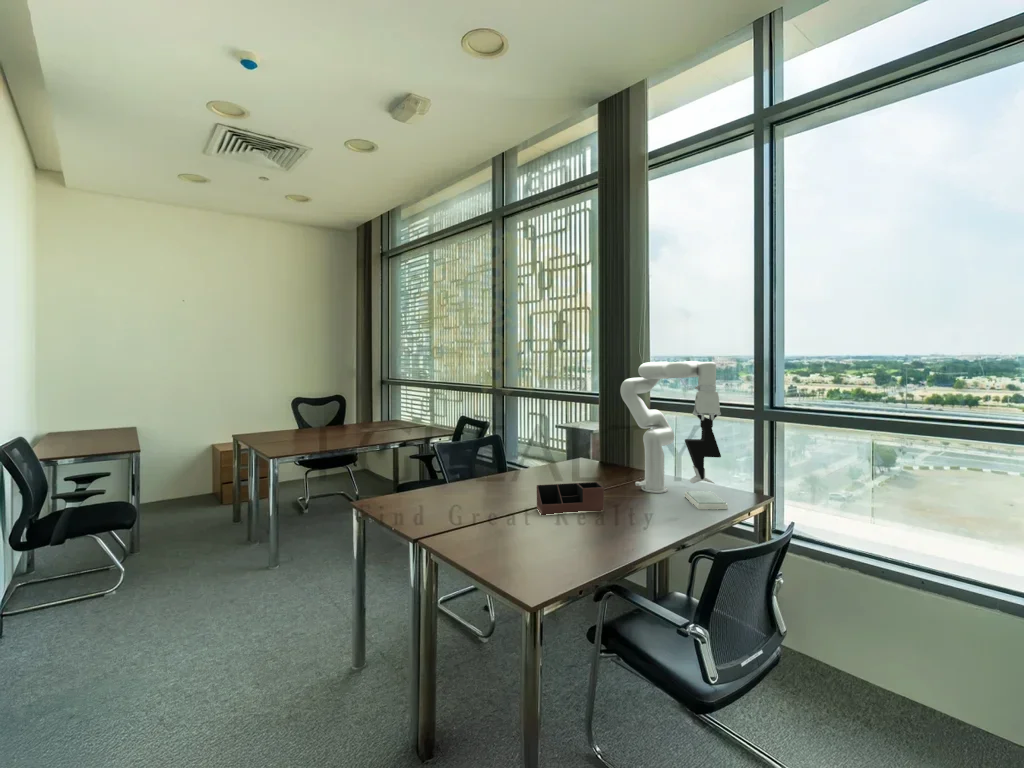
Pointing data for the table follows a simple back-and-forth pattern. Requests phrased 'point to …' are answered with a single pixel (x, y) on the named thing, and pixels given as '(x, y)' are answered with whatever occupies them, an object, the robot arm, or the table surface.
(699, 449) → the award
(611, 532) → the table surface
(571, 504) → the desk organizer
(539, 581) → the table surface
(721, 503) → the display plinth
